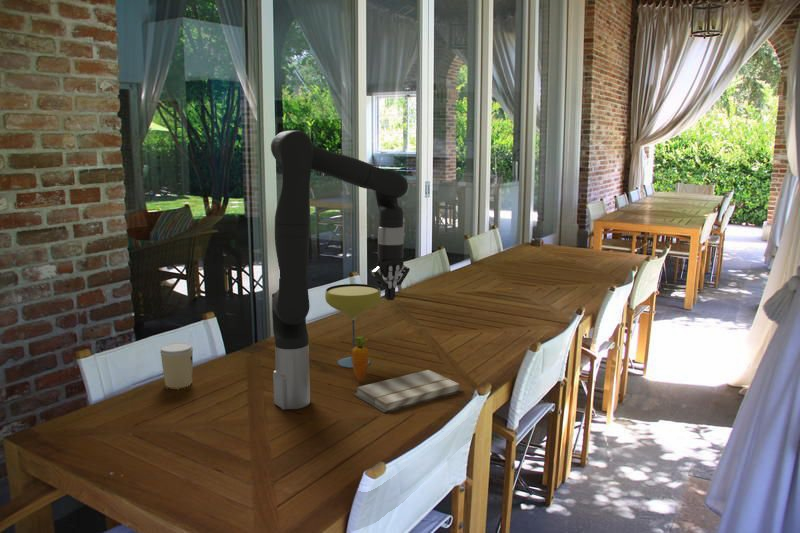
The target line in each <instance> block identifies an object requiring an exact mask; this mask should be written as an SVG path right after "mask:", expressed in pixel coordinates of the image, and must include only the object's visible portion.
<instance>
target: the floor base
mask: <svg viewBox="0 0 800 533" xmlns="http://www.w3.org/2000/svg"><path fill="white" fill-rule="evenodd" d="M462 392H464V389H461V388H460V383H458V382H456V381H454V380H452V379H450V378H449V377H445V378H444V379H441V380H437V381H433V382H429V383H425V384H421V385H418V386H414V387H410V388H406V389H402V390H398V391H394V392H391V393H387V394H383V395H379V396H375V403H373V402H371V401H369V400H367V399H366V398H364V397H362V396H361V395H359V394H357V392H356V393H353V396H355V397H356V398H358V399H359V400H361V401H363V402H364V403H365V404H368V405H370V406H371V407H373V408H374V409H376V410H378V411H380V412H381V413H383V414H387V413H391V412H395V411H397V410H401V409H404V408H408V407H413V406H415V405H419V404H420V405H421V404H422V403H426V402H430V401H433V400H434V401H435V400H437V399H440V398H443V397H444V398H445V397H447V396H451V395H455V394H458V393H462Z"/></svg>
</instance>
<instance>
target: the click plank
mask: <svg viewBox="0 0 800 533" xmlns="http://www.w3.org/2000/svg"><path fill="white" fill-rule="evenodd" d="M444 378H446V376H443V375H440V374H438V373H437V372H434V371H432V370H430V369H426V370H422V371H421V370H420V371H418V372H414V373H409V374H405V375H402V376H397V377H393V378H389V379H385V380H381V381H377V382H372V383H369V384H365V385H364V384H363V385H360V386H357V388H356V390H357V392H356V393H357V394H359V395H361V396H362V397H364V398H366V399H367V400H369V401H371V402H373V403H375V396H379V395H383V394H387V393H391V392H394V391H398V390H402V389H406V388H410V387H414V386H418V385H421V384H425V383H429V382H433V381H437V380H441V379H444Z"/></svg>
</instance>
